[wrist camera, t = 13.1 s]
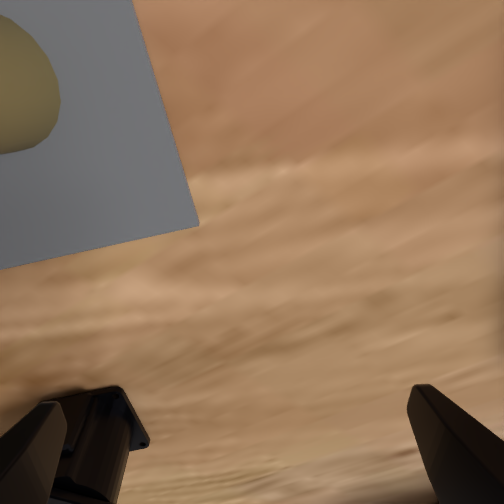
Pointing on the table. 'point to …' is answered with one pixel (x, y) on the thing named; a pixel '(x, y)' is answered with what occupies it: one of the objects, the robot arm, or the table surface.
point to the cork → (25, 90)
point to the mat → (92, 140)
